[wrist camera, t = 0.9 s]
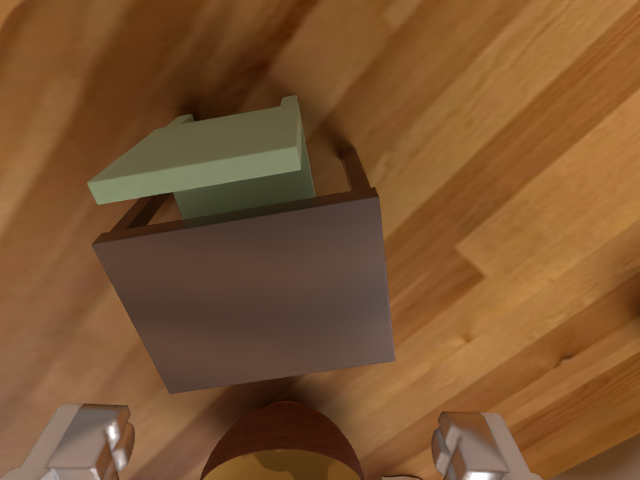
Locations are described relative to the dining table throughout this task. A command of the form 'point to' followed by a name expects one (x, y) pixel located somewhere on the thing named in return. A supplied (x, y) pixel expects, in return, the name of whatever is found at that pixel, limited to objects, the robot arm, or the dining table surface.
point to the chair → (216, 163)
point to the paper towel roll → (399, 478)
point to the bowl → (283, 447)
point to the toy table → (256, 287)
